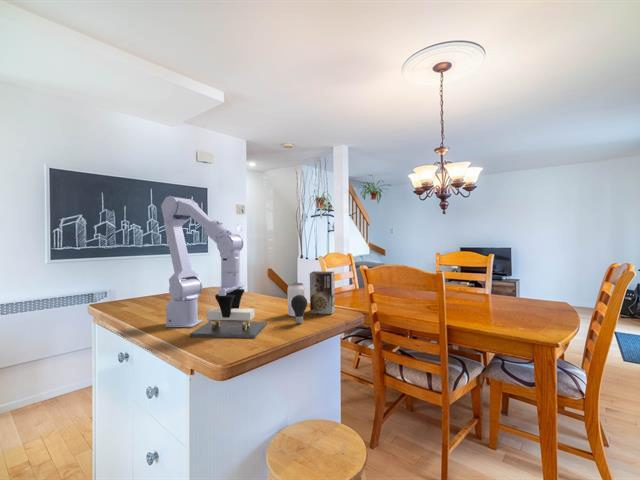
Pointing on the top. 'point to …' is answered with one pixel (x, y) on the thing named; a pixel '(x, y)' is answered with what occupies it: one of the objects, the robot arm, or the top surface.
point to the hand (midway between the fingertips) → (230, 314)
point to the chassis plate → (229, 329)
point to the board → (235, 314)
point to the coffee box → (322, 292)
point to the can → (292, 292)
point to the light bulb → (299, 307)
